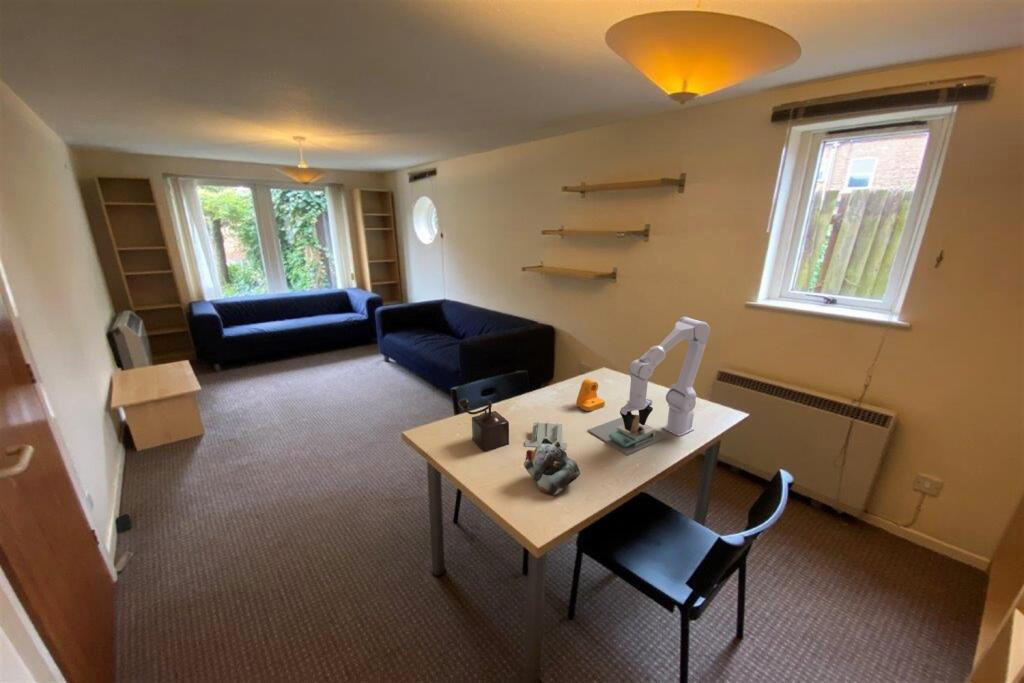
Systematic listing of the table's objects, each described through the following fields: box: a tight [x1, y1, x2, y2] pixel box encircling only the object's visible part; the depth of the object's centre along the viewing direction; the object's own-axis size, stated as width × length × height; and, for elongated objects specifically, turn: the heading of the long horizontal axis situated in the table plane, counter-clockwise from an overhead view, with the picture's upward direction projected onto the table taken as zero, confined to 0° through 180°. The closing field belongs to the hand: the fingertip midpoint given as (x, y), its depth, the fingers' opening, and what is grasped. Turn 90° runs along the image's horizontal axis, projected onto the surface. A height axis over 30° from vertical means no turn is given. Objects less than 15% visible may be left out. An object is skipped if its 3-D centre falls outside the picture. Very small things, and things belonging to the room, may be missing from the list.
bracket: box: [575, 378, 606, 412], centre depth 172 cm, size 11×7×12 cm, turn 124°
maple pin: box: [631, 413, 639, 433], centre depth 146 cm, size 3×3×9 cm
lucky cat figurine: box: [523, 438, 581, 496], centre depth 123 cm, size 15×12×14 cm
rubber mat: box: [587, 416, 669, 456], centre depth 151 cm, size 22×20×1 cm
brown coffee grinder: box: [458, 397, 510, 453], centre depth 143 cm, size 16×11×18 cm
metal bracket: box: [524, 421, 568, 451], centre depth 148 cm, size 14×6×15 cm
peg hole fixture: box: [609, 423, 656, 447], centre depth 146 cm, size 15×9×4 cm, turn 123°
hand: (634, 426), depth 146 cm, fingers open, 7 cm apart
